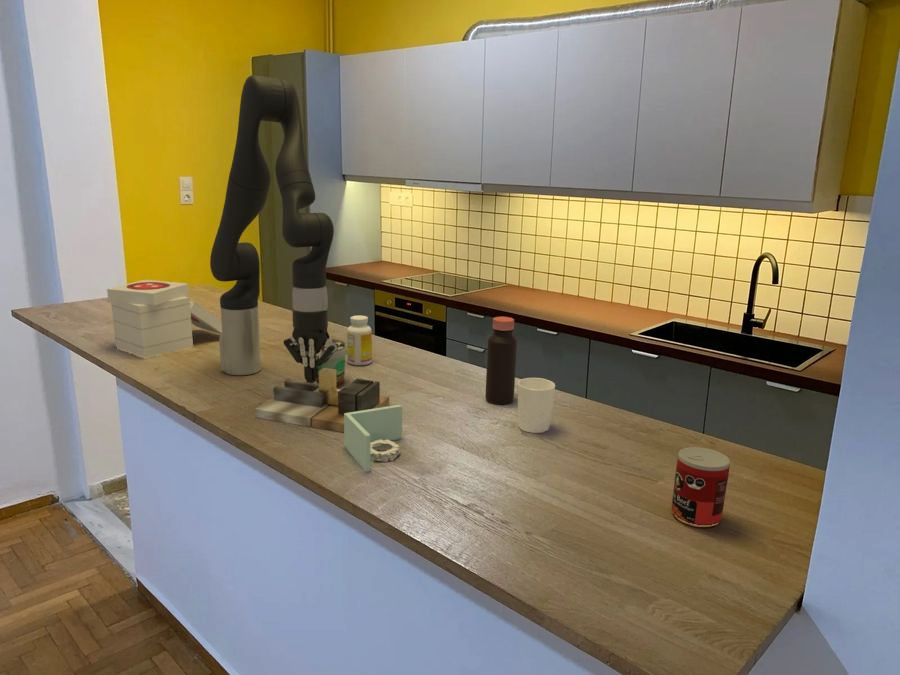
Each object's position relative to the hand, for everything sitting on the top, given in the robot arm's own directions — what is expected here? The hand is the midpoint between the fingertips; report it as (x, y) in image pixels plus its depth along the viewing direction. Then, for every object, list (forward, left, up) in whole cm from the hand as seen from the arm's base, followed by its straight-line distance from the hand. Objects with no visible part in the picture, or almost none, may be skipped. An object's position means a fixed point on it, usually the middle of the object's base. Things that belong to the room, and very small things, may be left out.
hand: (311, 381), depth 153 cm
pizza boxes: (-63, +29, -7) cm, 70 cm away
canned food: (+82, -18, -7) cm, 84 cm away
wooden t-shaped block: (+7, 0, -4) cm, 8 cm away
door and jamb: (+3, 0, -7) cm, 7 cm away
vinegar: (+38, +22, -7) cm, 44 cm away
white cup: (+49, +9, -7) cm, 50 cm away
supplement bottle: (-5, +35, -7) cm, 36 cm away
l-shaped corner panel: (+24, -15, -7) cm, 29 cm away
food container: (-3, +17, -7) cm, 19 cm away
